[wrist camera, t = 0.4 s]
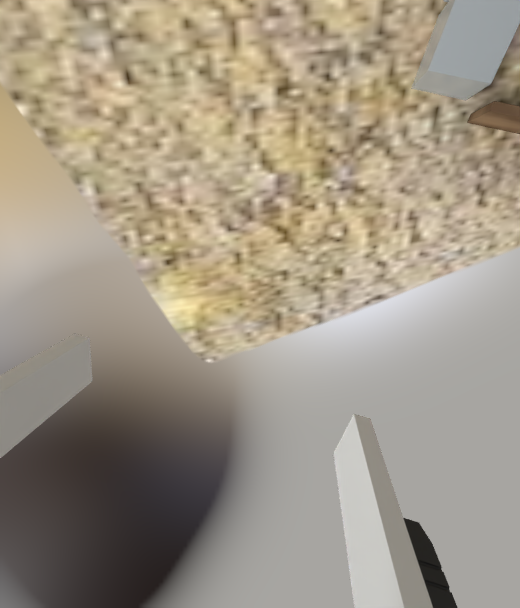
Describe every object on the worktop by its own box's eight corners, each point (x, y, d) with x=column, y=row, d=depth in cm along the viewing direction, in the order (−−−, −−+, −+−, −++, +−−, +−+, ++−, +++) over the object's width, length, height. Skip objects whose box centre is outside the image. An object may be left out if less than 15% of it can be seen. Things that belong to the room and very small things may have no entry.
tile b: (437, 16, 25) (461, -17, 21) (497, 28, 25) (532, -4, 21) (410, 89, 27) (427, 70, 23) (464, 100, 27) (490, 83, 23)
